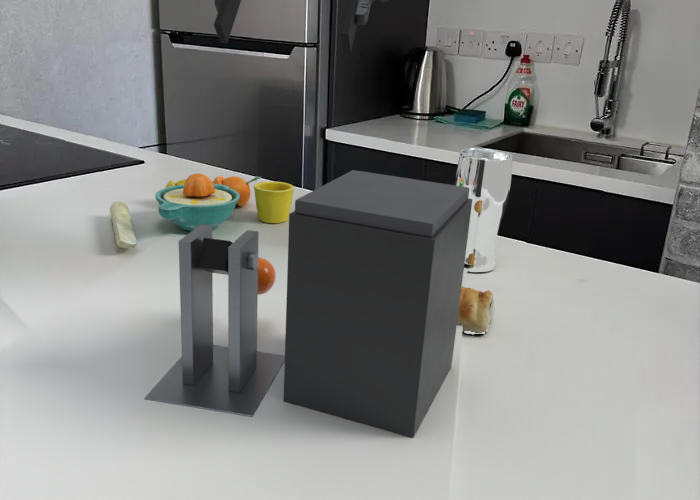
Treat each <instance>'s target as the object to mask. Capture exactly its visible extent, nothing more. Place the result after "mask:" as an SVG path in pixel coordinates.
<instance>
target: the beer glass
mask: <svg viewBox="0 0 700 500" xmlns="http://www.w3.org/2000/svg"><path fill="white" fill-rule="evenodd" d="M513 159H514V156H513V154H511V153H509V152H507V151H503V150H499V149H491V148H482V147H469V148H463V149H461V150H460V152H459V156H458V162H457V167H456V172H455V179H454V185H455V186H462V187H468V188H469V196H468V198H469V199H472V207H471V215H470V223H469V231H468V239H467V247H466V255H465V263H464V268H466V269H473V270H483V269H489V268H492V267H494V266H495V267H496V241H497V236H498V234H499V231H500V227H501V224H502V221H503V218H504V215H505V212H506V208H507V206H508V202H509V197H510V192H511V185H512V175H513Z"/></svg>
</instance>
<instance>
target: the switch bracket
mask: <svg viewBox="0 0 700 500" xmlns="http://www.w3.org/2000/svg"><path fill="white" fill-rule="evenodd" d="M259 235H260V234H259V231H258V230H251V229H247V230H245V231H244V232H243V233H242V234H241V235H240V236H238V237H237V239H235V240H234V241H232V244H231V245H230V246H229V247H228V275H227V279H228V284H227V285H228V287H227V288H228V289H227V292H228V295H227V298H228V299H227V301H228V303H227V304H228V305H227V307H228V308H227V311H228V312H227V315H228V319H227V320H228V321H227V324H228V327H227V329H228V334H227V335H228V336H227V337H228V345H227V346H226V345H225V346H224V345H217V344H216V345H215V344H214V309H213V308H214V302H213V301H214V300H213V298H214V297H213V296H214V291H213V290H214V288H213V273H210V272H208V271H206V270H203V269H201V268H199V261H200V256H201V250H202V245H203V239H204V238H211V239H213V230H212V226H210V225H200V226H198V227H197V228H196V229H194V230H193V231H189V233H188V234H185V235H184V237H182V238H180V239H179V240H178V262H179V263H178V265H179V266H178V267H179V302H180V336H181V337H180V338H181V339H180V340H181V356H180V357H179V358H178V360H177V361H176V362H175V363H174V364H173V365H172V367H171V368H169V370H168V371H167V372H166V374H164V376H163V377H162V378H161V379H160V380H159V381H158V382H157V383H156V384H155V386H154V387H153V388H152V389H151V390H150V391H149V393H148V394H147V395H146V396H145V397H144V400H145V401H151V402H157V403H163V404H170V405H175V406H182V407H186V408H187V407H188V408H193V409H194V408H195V409H199V410H204V411H205V410H206V411H213V412H218V413H224V414H229V415H235V416H241V417H248V418H253V417H254V415H255V413H256V412H257V410H258V409H259V406H260V405H261V403H262V401H263V400H264V398H265V396H266V395H267V393H268V391H269V389H270V388H271V386H272V385H273V382H274V380H275V379H276V378H277V376H278V374H279V372H280V370H281V368H282V367H283V365H284V364H285V354H278V353H271V352H270V353H269V352H265V351H258V300H259V299H258V297H259V295H258V257H259Z"/></svg>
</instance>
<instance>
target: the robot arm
mask: <svg viewBox="0 0 700 500" xmlns="http://www.w3.org/2000/svg"><path fill="white" fill-rule="evenodd" d="M375 1H377V0H348V3H347V7H346V12H345V16H344V20H343V24H342V27H341V33H340V38H341V45H342V51H343V53H344V54H351V53H352V48H353V45H354V40H355V35H356V32H357V27H358V26H359V25H361V26H365V25H366V24H367V22H368V20H369V16H370V15H369V14H370V12H371V6H372V4H373V3H374V2H375ZM379 1H380V2H381V3H387V2H389V1H390V0H379ZM241 2H242V0H214V7H215V9H216V12H217V14H216V17H215V20H214V23H213V28H214V30H215V32H216V35H217V38H218V41H219V43H220V44H225V45H227V44H228V42H229V39H230V37H231V34H232V30H233V27H234V24H235V21H236V17H237V15H238V11H239V8H240V5H241Z"/></svg>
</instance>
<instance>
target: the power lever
mask: <svg viewBox="0 0 700 500" xmlns="http://www.w3.org/2000/svg"><path fill="white" fill-rule="evenodd" d="M232 243H233V241H231V240H228V239H227V240H226V239H219V238H218V239H217V238H212V239H211V238H204V239H203V245H202V250H201V256H200V261H199V268H201V269H203V270H206V271H208V272H210V273H212V274H219V275H225V276H228V247H229V246H230V245H231V244H232ZM276 278H277V275H276V270H275V268H274V265H272V263H271V261H269V260H267V259H265V258H264V257H259V256H258V296H260V295H261V296H262V295H264V294H266V293H268V292H269V291H271V289H272V288H273V286H274V285H275V284H276V283H275V282H276V280H277V279H276Z"/></svg>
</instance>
